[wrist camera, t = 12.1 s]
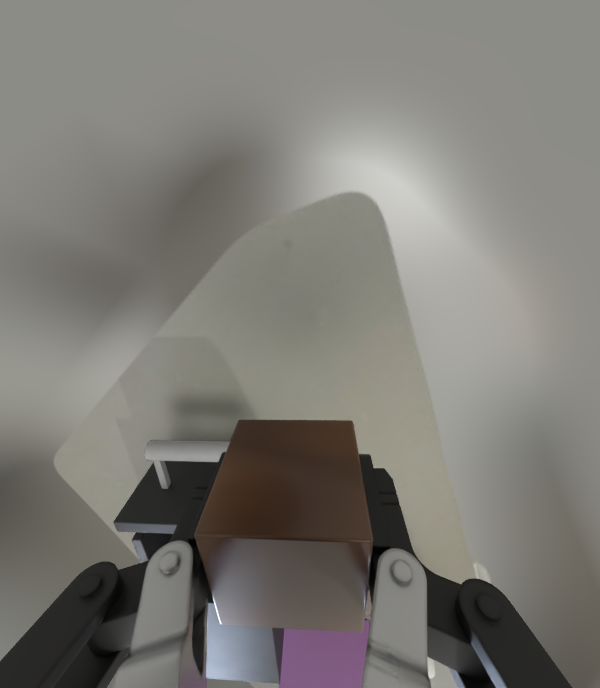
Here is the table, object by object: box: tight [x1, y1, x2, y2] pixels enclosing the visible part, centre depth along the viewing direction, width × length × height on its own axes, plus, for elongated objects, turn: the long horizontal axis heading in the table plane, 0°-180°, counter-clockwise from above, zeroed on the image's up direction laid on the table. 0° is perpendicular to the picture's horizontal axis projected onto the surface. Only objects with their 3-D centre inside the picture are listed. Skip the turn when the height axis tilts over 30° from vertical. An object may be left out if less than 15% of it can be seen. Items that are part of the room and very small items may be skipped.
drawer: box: [114, 440, 230, 592], centre depth 28 cm, size 20×11×8 cm, turn 2°
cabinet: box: [206, 592, 284, 684], centre depth 33 cm, size 16×13×10 cm
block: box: [194, 420, 373, 633], centre depth 10 cm, size 5×5×5 cm
